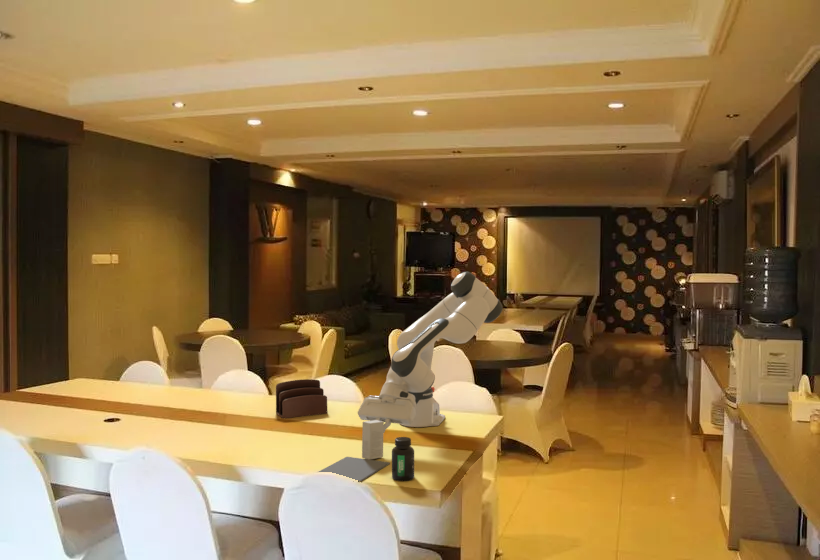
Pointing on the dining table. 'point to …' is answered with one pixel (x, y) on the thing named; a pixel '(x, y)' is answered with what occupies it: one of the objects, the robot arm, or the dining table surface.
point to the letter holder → (300, 398)
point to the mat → (356, 467)
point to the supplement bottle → (402, 460)
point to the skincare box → (372, 439)
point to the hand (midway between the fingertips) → (379, 431)
